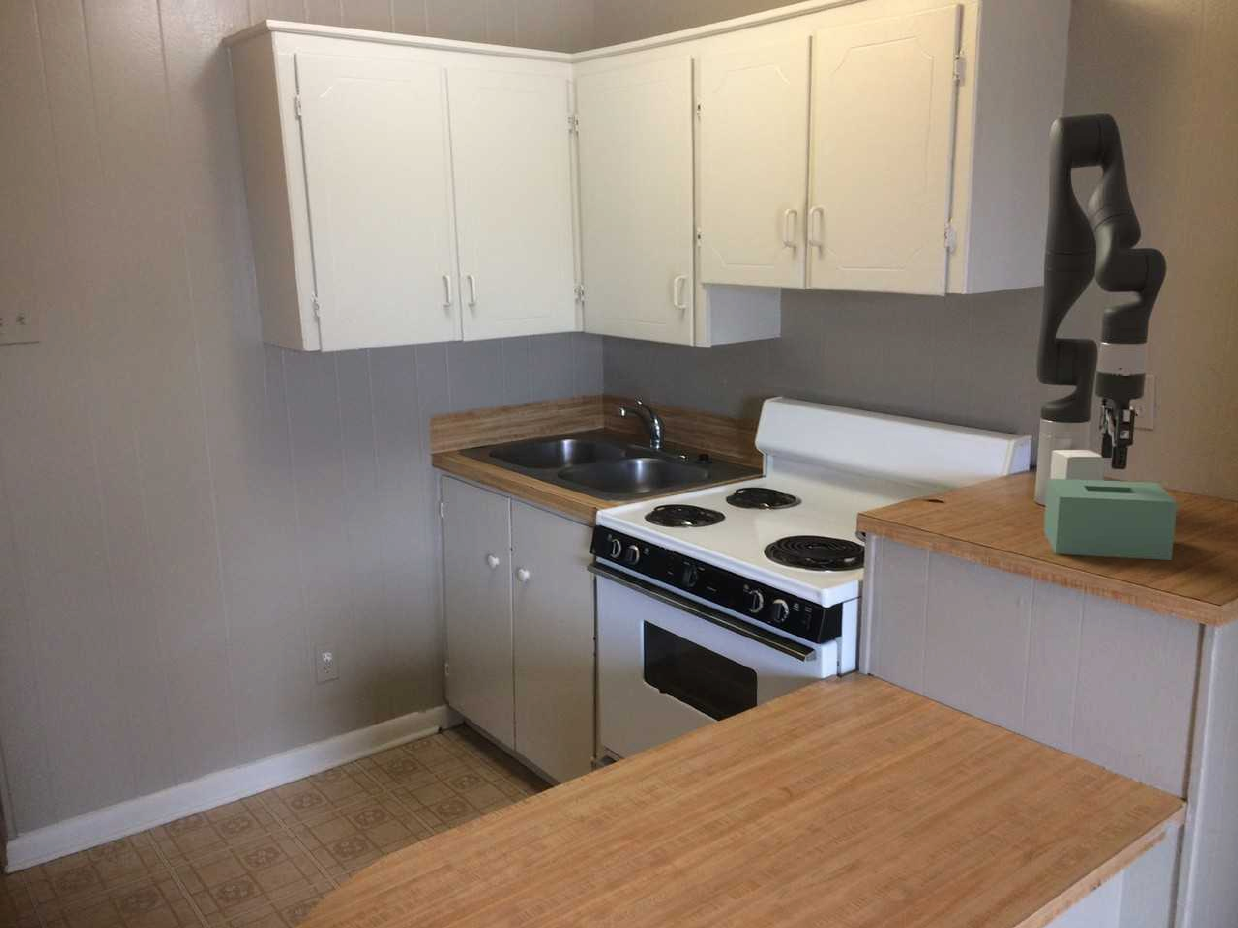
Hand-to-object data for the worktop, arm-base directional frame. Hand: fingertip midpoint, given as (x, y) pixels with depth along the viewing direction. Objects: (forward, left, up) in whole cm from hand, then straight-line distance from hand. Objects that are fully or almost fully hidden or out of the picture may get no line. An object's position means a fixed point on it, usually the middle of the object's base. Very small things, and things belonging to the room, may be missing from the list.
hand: (1112, 463), depth 177 cm
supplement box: (-19, -2, -15) cm, 24 cm away
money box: (0, 0, -15) cm, 15 cm away
